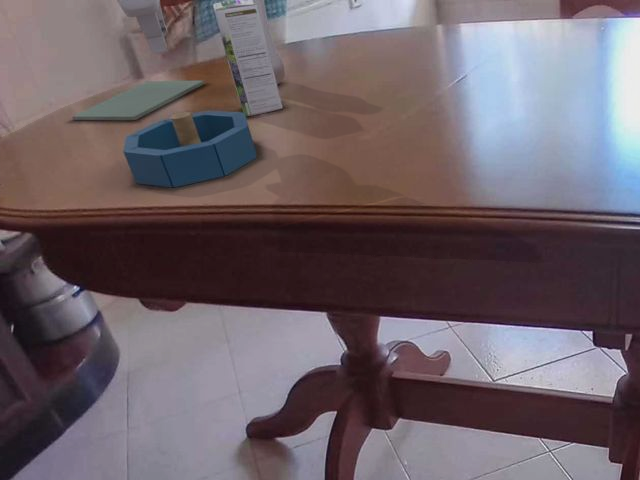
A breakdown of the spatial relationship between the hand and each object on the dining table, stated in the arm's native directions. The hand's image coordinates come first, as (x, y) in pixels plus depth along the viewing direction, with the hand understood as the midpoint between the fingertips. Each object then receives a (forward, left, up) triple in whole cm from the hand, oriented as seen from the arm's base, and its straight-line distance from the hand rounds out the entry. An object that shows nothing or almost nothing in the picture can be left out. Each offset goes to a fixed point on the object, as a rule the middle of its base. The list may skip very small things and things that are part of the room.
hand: (161, 43), depth 86 cm
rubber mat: (-8, +30, -13) cm, 33 cm away
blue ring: (0, -6, -13) cm, 15 cm away
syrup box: (+10, +12, -13) cm, 20 cm away
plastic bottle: (+12, +24, -13) cm, 29 cm away
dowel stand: (0, -6, -13) cm, 15 cm away
